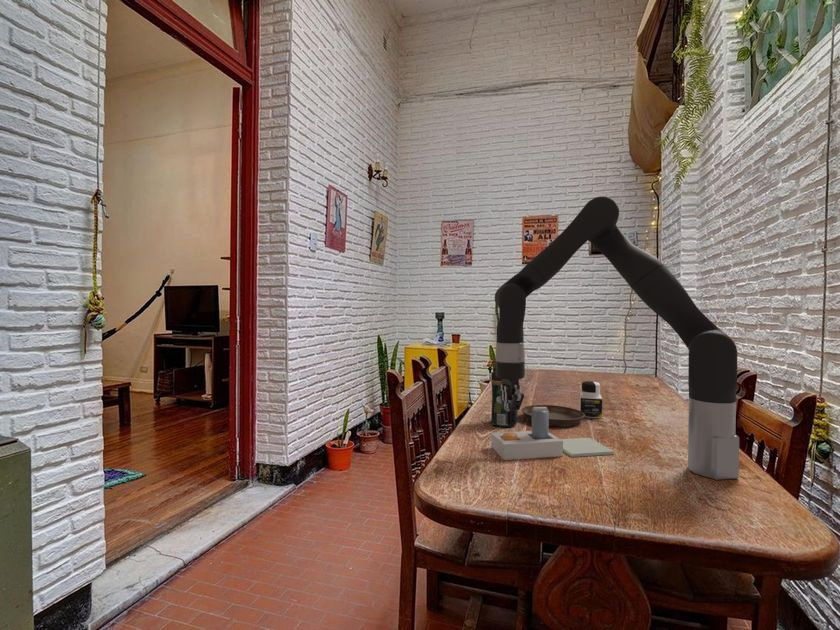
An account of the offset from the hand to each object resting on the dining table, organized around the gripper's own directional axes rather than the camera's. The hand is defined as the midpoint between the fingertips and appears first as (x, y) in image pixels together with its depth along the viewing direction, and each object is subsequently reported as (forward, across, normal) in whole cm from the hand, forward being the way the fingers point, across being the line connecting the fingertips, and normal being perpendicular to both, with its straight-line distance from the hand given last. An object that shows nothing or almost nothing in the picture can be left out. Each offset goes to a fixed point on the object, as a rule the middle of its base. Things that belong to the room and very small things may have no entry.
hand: (510, 424), depth 116 cm
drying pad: (+8, 0, -20) cm, 22 cm away
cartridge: (+8, 0, -8) cm, 11 cm away
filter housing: (+8, 0, -4) cm, 9 cm away
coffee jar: (+8, +27, -9) cm, 30 cm away
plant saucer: (+8, +29, -27) cm, 40 cm away
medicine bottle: (+8, +32, -43) cm, 54 cm away
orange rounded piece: (+6, 0, 0) cm, 6 cm away
